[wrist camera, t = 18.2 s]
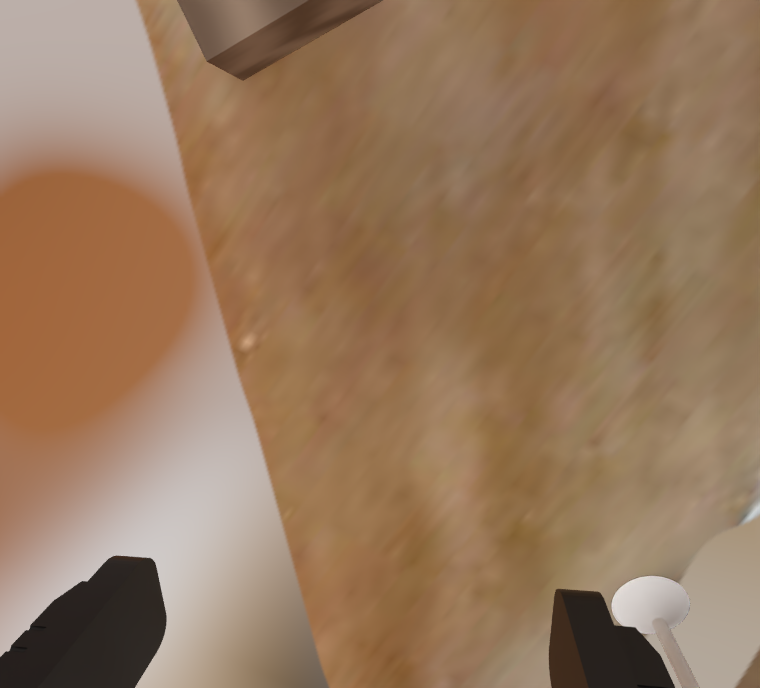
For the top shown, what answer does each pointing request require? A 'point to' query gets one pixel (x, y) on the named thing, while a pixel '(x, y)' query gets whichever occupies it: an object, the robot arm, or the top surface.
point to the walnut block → (262, 28)
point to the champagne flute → (656, 616)
